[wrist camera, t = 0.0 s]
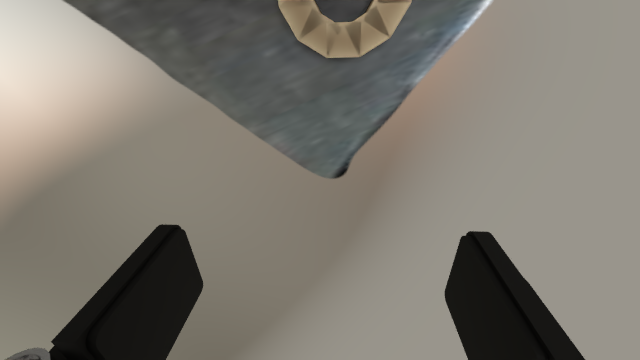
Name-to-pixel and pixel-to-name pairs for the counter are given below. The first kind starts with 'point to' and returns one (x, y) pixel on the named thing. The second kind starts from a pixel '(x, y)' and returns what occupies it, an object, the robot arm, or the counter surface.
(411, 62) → the counter surface
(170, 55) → the counter surface
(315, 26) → the faceted beige ring
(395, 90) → the counter surface
